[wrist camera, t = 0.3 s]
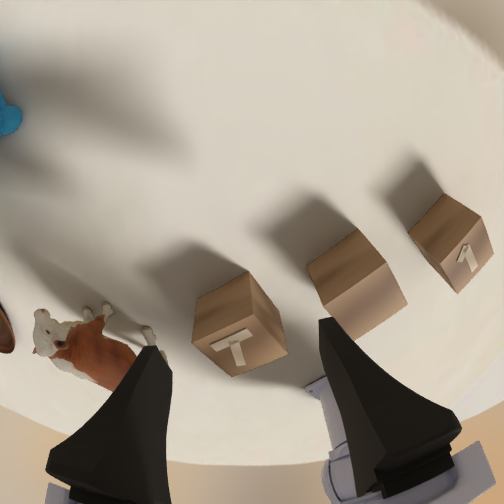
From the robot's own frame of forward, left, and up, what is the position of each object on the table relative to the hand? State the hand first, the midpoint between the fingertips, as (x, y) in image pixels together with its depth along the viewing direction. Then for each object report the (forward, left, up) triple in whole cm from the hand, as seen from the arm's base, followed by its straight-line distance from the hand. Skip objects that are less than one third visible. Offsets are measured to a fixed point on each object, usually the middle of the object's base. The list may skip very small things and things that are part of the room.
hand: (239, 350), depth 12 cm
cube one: (-11, -14, -10) cm, 21 cm away
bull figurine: (+1, +14, -10) cm, 17 cm away
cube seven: (-5, +4, -10) cm, 12 cm away
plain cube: (-8, -5, -10) cm, 14 cm away
